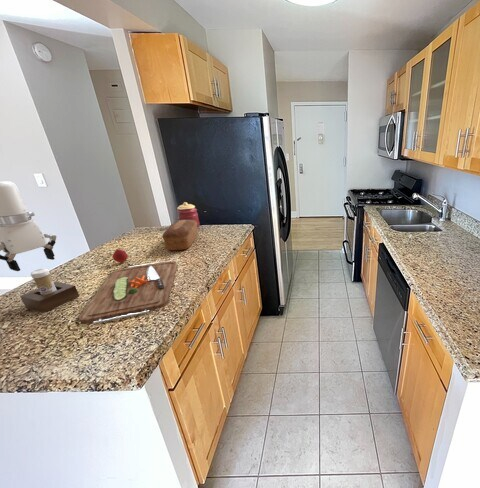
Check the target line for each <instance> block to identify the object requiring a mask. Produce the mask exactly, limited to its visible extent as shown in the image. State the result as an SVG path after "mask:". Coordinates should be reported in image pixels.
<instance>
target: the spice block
mask: <svg viewBox="0 0 480 488" xmlns="http://www.w3.org/2000/svg"><path fill="white" fill-rule="evenodd" d="M53 282H54V285H55V287H56V289H57V291H54V292H52V293H50V294H47V295H45V296H42V295H41V294H40V292H39V290H38V288H36V289H34V290H32V291H29V292H27V293H24V294H22V295H19V297H20V299H21V301H22V303H23V305H24V307H25V308H27V309H31V310H33V311H38V312H41V313H47V312H50V311H52V310H55V309H57V308H58V307H60V306H62V305H64V304H67V303H69V302H70V301H73V300H75V299H77V298H79V297H80V294H79V291H78V289H77V286H76V285H74V284H71V283H70V284H69V283H65V282H61V281H53Z"/></svg>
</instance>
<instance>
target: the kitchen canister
mask: <svg viewBox="0 0 480 488" xmlns="http://www.w3.org/2000/svg"><path fill="white" fill-rule="evenodd" d="M176 209H177V210H176V213H177V219H178V221H179V220H195V221H196V222H197V228H198V227H200V226H201V225H200V224H201V223H200V220H199V213H198V212H197V211H198V209H197V208H196V205H194V204H192V203H188V202H186V201H184V202H183V203H182V204H180V205H178V207H176Z"/></svg>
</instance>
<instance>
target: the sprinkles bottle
mask: <svg viewBox="0 0 480 488" xmlns="http://www.w3.org/2000/svg"><path fill="white" fill-rule="evenodd" d="M30 276H31V278H32V279H33V281H34V282H35V285H36V288H37V289H38V290H39V292H40V294H41V295H42V296H45V295H47V294H50V293H52V292H54V291H57V289H56V287H55V285H54V282H55V281H54V280H53V279H52V275H51V274H50V270H49V269H48V268H38V269H36V270H33V271H31V272H30Z"/></svg>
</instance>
